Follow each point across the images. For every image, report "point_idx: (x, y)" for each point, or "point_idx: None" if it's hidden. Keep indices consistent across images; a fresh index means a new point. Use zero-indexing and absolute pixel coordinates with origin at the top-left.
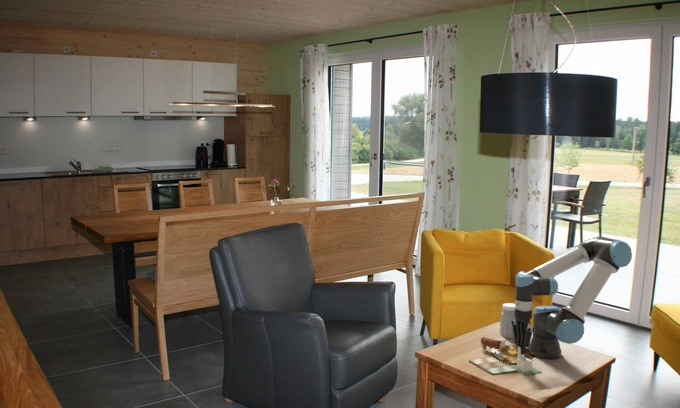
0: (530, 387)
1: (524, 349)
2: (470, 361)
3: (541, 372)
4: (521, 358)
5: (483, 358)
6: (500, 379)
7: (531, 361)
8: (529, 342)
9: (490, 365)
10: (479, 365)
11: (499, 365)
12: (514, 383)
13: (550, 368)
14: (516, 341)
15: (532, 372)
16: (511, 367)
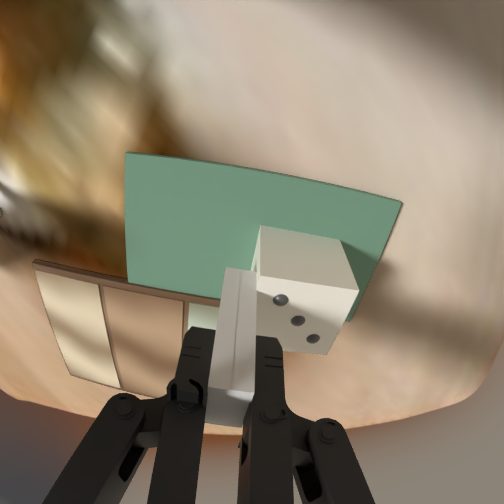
0: (427, 377)
1: (281, 392)
2: (82, 378)
3: (400, 203)
4: (257, 322)
5: (52, 323)
6: (300, 411)
7: (354, 294)
8: (360, 480)
9: (150, 367)
10: (137, 391)
11: (165, 341)
12: (363, 398)
13: (386, 50)
14: (148, 444)
15: (361, 261)
16: None
